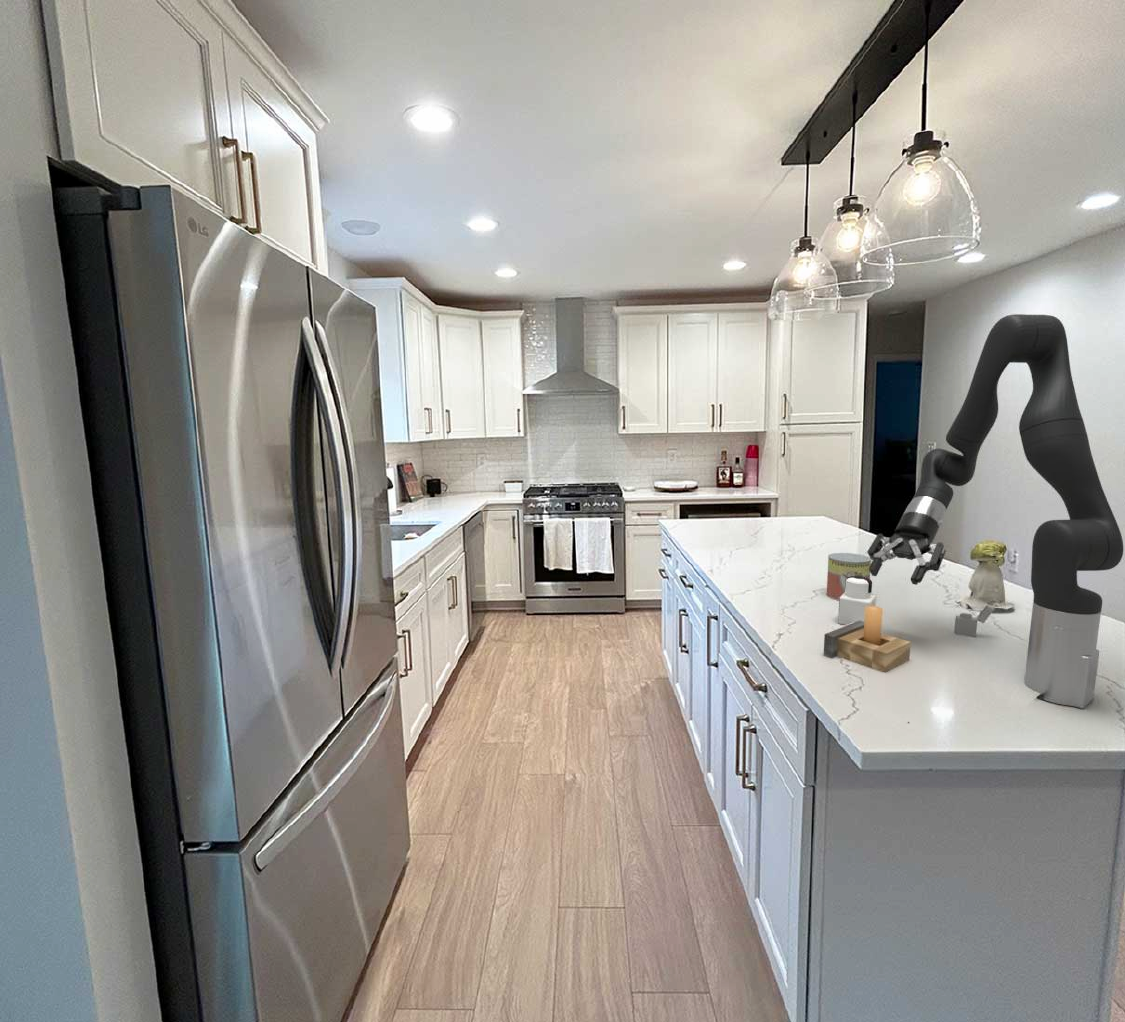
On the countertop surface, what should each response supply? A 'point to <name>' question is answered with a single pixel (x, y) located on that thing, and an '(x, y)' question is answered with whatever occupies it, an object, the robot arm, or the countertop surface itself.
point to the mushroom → (987, 578)
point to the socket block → (874, 651)
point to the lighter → (971, 622)
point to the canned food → (845, 571)
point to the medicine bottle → (855, 599)
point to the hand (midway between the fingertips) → (892, 578)
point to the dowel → (873, 625)
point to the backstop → (833, 636)
